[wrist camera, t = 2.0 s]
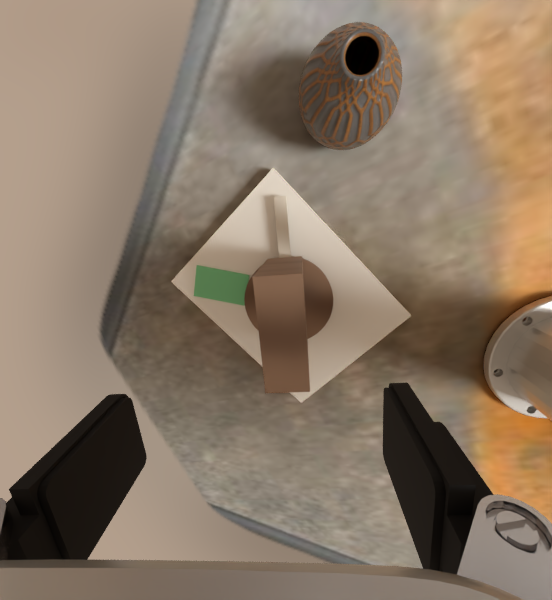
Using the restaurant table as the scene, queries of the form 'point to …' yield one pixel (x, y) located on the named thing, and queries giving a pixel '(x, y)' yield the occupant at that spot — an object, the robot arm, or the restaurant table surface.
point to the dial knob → (287, 311)
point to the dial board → (303, 242)
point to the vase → (350, 86)
